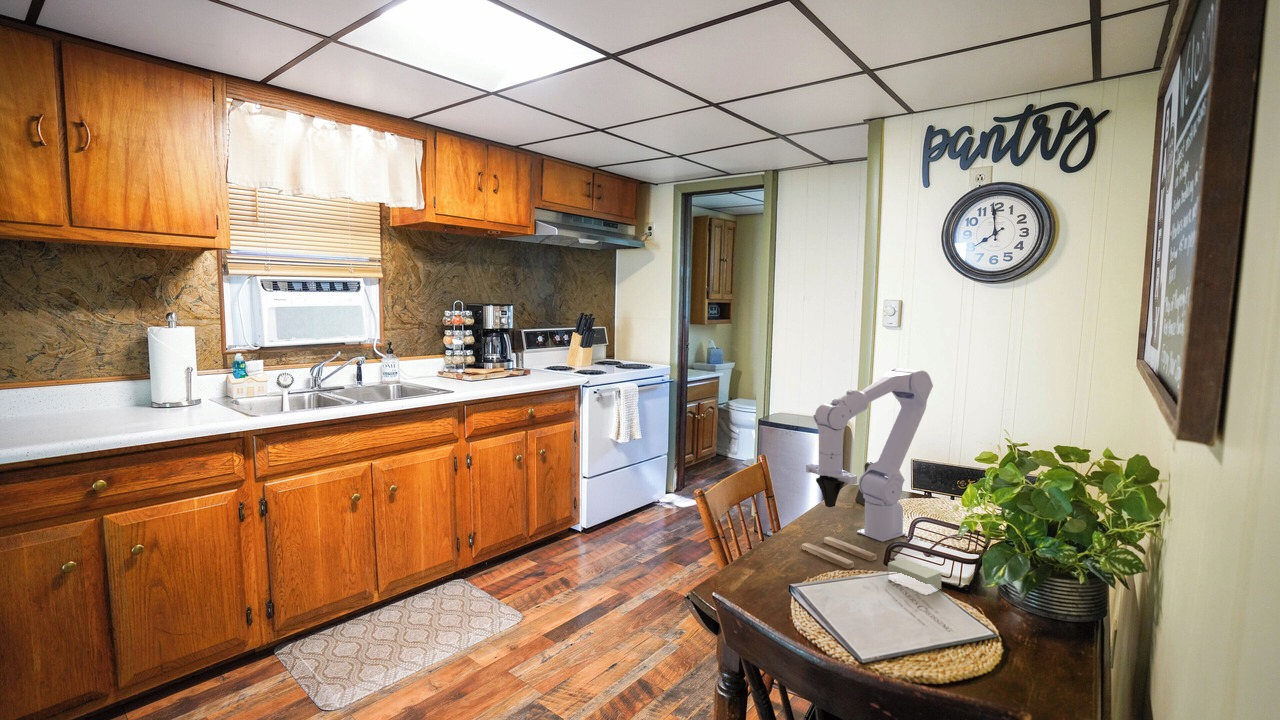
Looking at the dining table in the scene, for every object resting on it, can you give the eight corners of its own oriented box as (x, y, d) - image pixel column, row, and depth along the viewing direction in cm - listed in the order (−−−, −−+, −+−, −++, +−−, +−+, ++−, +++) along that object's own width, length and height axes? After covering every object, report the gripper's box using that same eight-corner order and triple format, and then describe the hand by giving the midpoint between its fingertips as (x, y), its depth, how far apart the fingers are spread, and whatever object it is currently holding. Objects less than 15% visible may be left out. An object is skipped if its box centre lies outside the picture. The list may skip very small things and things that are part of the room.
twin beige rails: (829, 540, 151) (829, 536, 151) (876, 559, 139) (876, 554, 139) (801, 549, 146) (801, 544, 146) (847, 569, 134) (847, 563, 134)
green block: (902, 575, 131) (902, 557, 131) (941, 591, 124) (941, 572, 123) (887, 580, 129) (888, 562, 128) (926, 597, 121) (926, 578, 121)
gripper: (797, 449, 153) (797, 501, 154) (843, 460, 140) (842, 517, 141) (817, 446, 156) (816, 496, 157) (863, 456, 144) (862, 511, 145)
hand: (830, 506), depth 149 cm, fingers closed
